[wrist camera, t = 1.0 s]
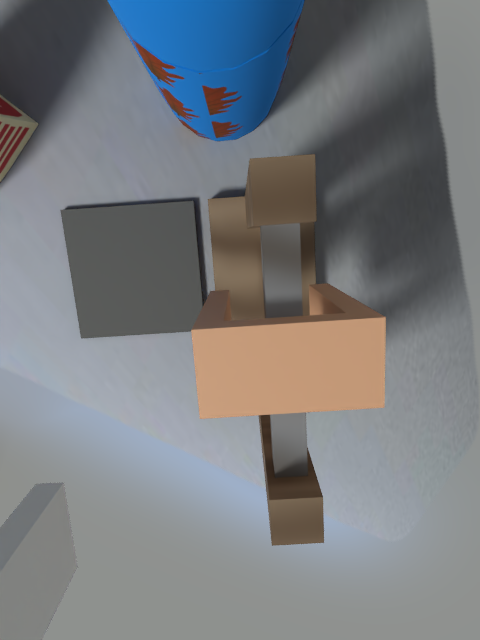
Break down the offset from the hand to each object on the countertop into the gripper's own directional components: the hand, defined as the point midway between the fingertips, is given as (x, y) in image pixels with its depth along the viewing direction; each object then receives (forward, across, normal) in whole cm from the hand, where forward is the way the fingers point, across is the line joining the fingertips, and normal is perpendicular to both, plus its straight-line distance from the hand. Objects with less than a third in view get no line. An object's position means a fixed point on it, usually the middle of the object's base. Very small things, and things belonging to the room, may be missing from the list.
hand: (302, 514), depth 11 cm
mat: (+31, -12, +4) cm, 33 cm away
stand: (+31, +1, +1) cm, 31 cm away
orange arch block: (+24, +1, +1) cm, 24 cm away
